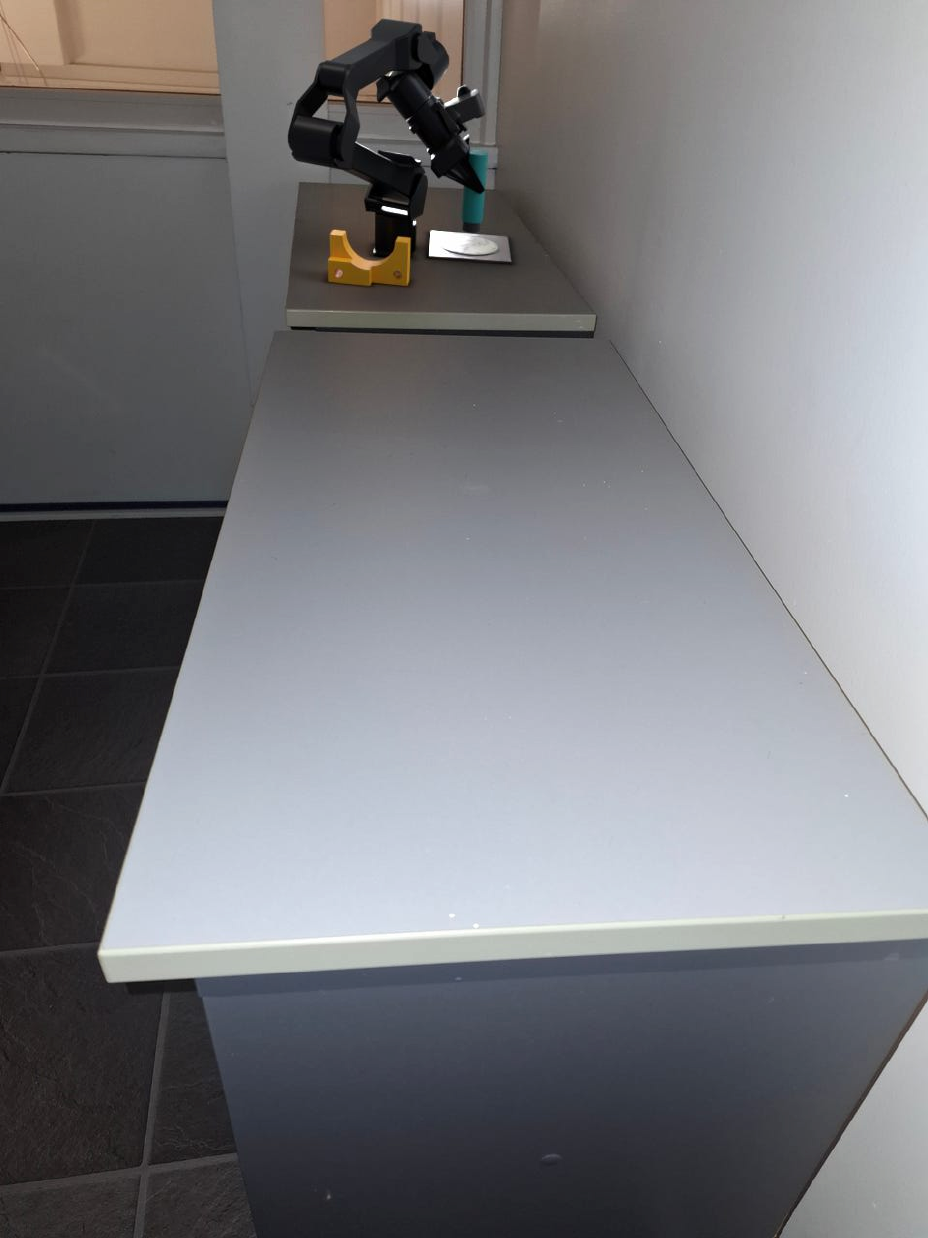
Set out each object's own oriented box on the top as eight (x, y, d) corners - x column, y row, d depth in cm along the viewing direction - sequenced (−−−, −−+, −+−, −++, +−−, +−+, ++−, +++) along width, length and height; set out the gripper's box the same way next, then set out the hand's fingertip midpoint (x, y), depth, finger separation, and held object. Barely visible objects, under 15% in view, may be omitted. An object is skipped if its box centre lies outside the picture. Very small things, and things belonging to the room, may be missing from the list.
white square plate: (428, 258, 144) (428, 254, 144) (430, 232, 155) (430, 229, 155) (511, 263, 145) (511, 260, 145) (507, 238, 156) (507, 235, 155)
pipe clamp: (328, 281, 132) (327, 237, 128) (334, 272, 136) (333, 229, 132) (405, 289, 132) (406, 246, 128) (409, 280, 135) (410, 237, 131)
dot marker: (472, 234, 144) (478, 155, 137) (456, 229, 146) (461, 150, 138) (485, 231, 146) (492, 153, 139) (470, 225, 148) (476, 148, 140)
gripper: (457, 77, 124) (524, 167, 131) (457, 58, 138) (517, 141, 146) (401, 133, 128) (469, 217, 136) (407, 110, 143) (467, 187, 150)
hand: (482, 188), depth 142 cm, fingers closed on dot marker, 3 cm apart
